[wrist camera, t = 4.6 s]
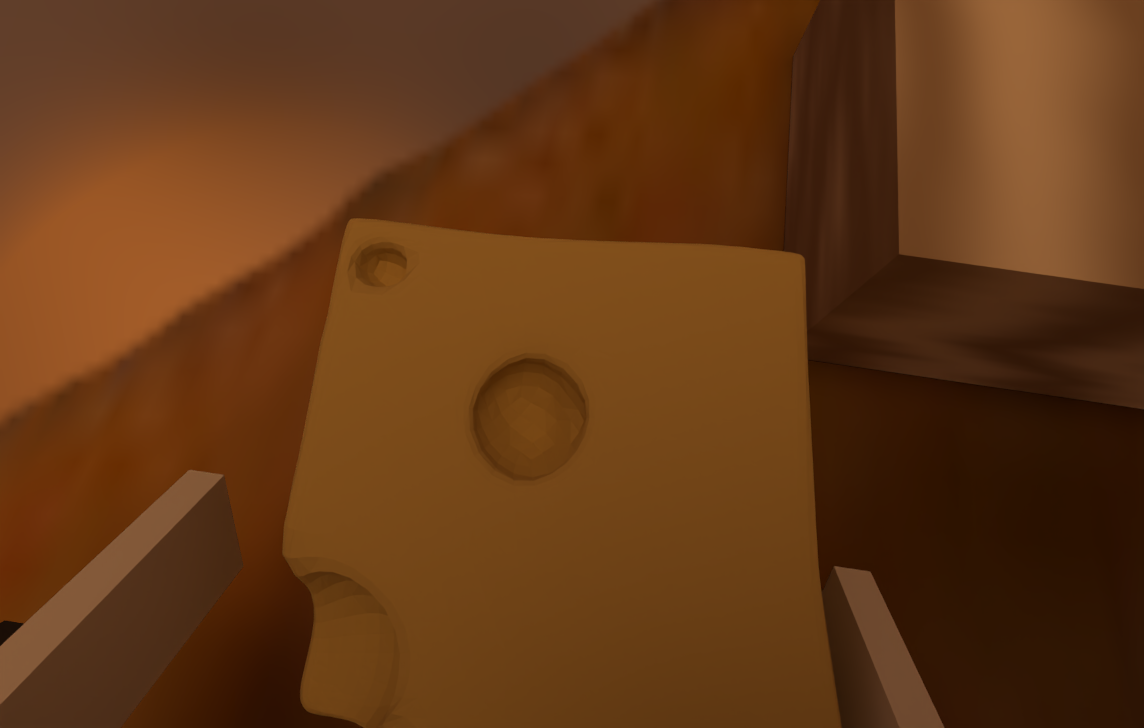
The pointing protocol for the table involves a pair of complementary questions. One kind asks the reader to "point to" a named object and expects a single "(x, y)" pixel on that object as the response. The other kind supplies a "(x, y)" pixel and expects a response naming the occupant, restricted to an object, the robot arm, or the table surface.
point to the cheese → (560, 487)
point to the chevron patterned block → (973, 191)
